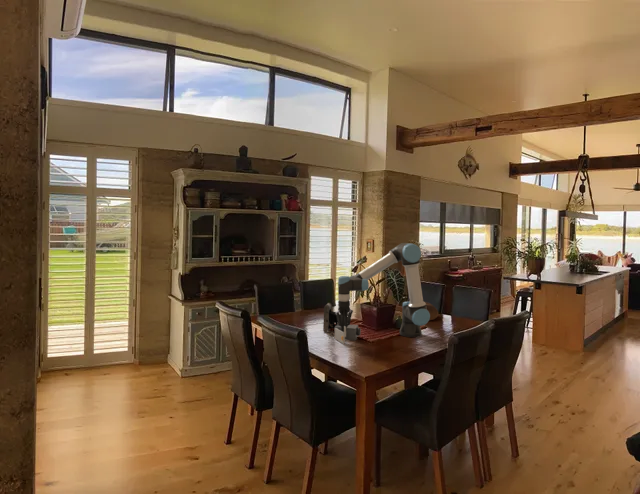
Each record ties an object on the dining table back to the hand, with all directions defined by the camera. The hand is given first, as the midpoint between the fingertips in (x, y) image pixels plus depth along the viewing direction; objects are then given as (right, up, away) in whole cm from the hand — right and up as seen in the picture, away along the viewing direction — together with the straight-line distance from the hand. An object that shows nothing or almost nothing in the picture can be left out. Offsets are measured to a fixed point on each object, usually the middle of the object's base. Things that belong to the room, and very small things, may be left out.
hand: (344, 336), depth 276 cm
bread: (+67, 0, +73) cm, 99 cm away
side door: (-3, -4, +2) cm, 5 cm away
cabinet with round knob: (+2, -3, +11) cm, 12 cm away
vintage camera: (-5, -3, +26) cm, 27 cm away
